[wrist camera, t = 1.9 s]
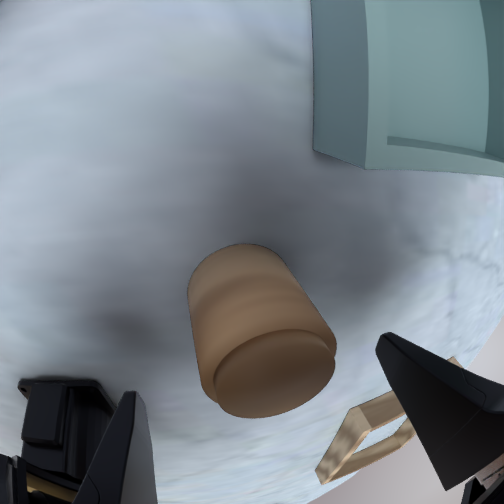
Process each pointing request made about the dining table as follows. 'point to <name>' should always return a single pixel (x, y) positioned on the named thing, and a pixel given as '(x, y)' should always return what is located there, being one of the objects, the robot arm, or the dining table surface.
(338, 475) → the rim
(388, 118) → the tray
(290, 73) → the dining table surface
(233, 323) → the salt pot
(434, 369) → the robot arm
